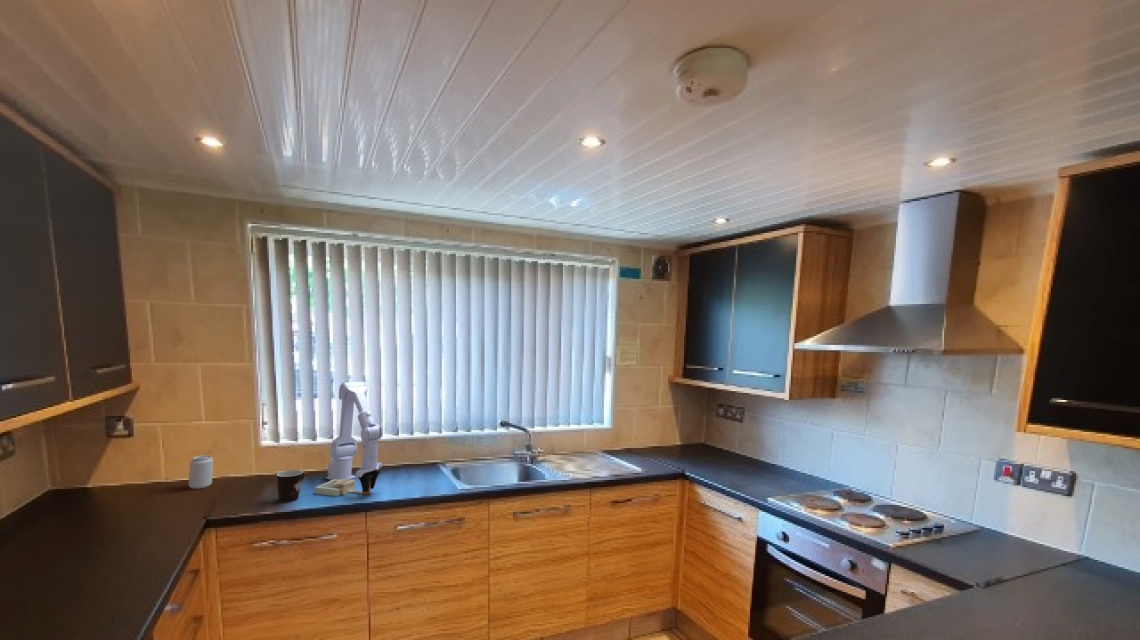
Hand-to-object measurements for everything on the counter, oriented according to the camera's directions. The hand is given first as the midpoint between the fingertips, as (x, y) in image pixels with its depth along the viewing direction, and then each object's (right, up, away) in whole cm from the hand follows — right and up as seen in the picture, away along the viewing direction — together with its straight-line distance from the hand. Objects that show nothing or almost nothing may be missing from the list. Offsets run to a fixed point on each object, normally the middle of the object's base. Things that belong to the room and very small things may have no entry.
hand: (368, 490), depth 187 cm
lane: (-14, -1, +2) cm, 15 cm away
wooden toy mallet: (-6, -1, +1) cm, 7 cm away
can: (-69, +1, +1) cm, 69 cm away
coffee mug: (-26, -1, -8) cm, 27 cm away
